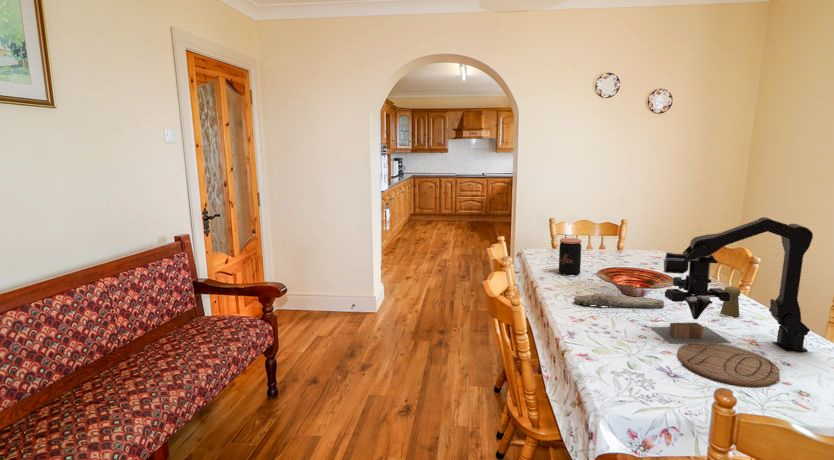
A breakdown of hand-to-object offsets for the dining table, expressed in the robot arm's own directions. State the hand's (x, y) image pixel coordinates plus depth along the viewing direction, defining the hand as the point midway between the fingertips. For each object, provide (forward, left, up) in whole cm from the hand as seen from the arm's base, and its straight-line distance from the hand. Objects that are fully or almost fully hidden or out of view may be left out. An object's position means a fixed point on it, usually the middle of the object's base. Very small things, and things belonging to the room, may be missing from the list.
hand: (695, 319), depth 151 cm
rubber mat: (+1, +1, -6) cm, 7 cm away
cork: (+20, -25, -7) cm, 33 cm away
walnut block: (0, -2, -4) cm, 5 cm away
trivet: (-20, +2, -7) cm, 21 cm away
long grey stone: (+33, +12, -7) cm, 36 cm away
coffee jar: (+80, +18, -7) cm, 82 cm away
